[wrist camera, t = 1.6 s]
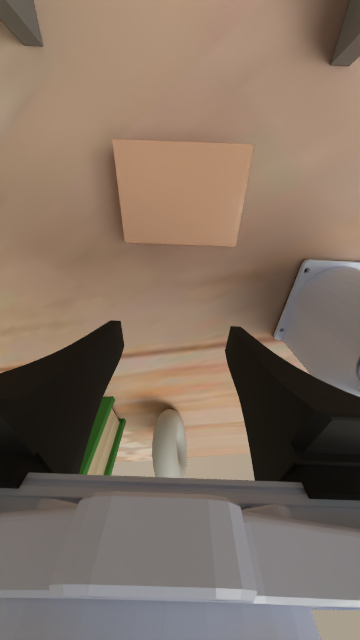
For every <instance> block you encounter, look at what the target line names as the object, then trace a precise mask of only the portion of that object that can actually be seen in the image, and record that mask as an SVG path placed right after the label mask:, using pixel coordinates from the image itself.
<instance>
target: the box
mask: <svg viewBox="0 0 360 640" xmlns="http://www.w3.org/2000/svg"><path fill="white" fill-rule="evenodd" d="M0 20H1V21H2V22H3V23H4V24H5V25H6V26H7V27H8V29H9V30H10V31H11V32H12V33H13V34H14V35H15V36H16V37H17V38H18V39H19V41H20V42H21V43H22V44H23V45H31V46H43V43H42V39H41V34H40V29H39V25H38V20H37V15H36V11H35V6H34V1H33V0H0ZM359 56H360V0H350V2H349V5H348V9H347V12H346V15H345V18H344V22H343V25H342V28H341V32H340V35H339V38H338V41H337V45H336V48H335V51H334V55H333V58H332V61H331V64H330V65H342V66H350V65H351V64H352V63H353V62H354V61H355V60H356V59H357V58H358V57H359Z"/></svg>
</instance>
